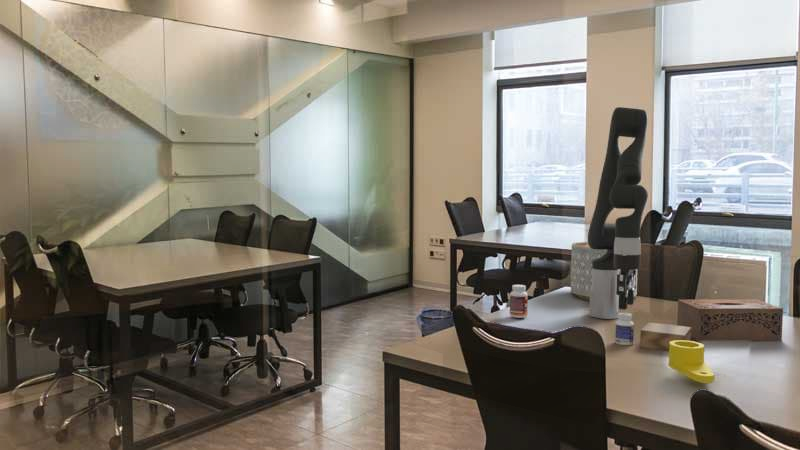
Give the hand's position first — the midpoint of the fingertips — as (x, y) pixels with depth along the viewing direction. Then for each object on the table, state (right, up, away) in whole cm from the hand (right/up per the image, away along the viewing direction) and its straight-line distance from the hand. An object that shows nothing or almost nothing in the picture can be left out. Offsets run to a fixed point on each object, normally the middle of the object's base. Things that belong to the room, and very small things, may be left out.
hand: (626, 306), depth 195 cm
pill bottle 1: (-25, -8, +39) cm, 47 cm away
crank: (+8, -14, -27) cm, 31 cm away
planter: (+15, -6, +70) cm, 72 cm away
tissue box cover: (+36, -11, +12) cm, 40 cm away
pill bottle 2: (0, -11, +1) cm, 11 cm away
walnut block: (+11, -11, -1) cm, 16 cm away
